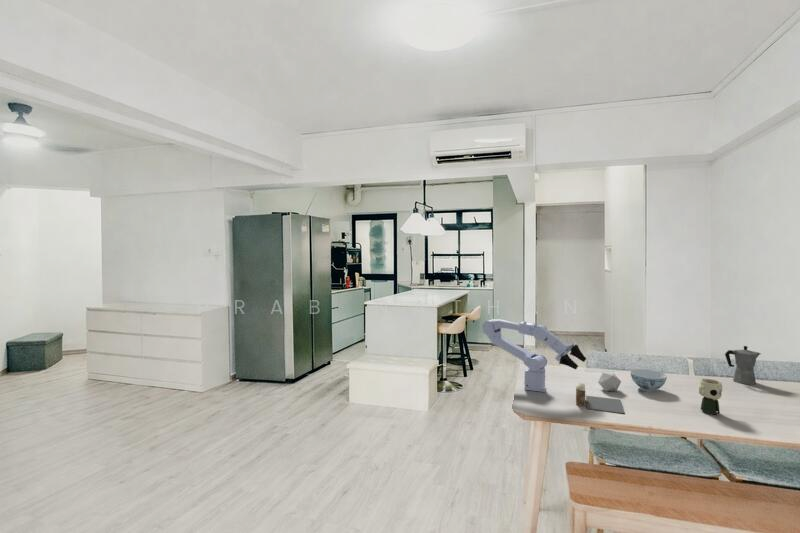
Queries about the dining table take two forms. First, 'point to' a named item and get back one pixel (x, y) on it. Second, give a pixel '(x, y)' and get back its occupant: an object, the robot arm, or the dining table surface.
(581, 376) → the dining table surface
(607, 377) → the die
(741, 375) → the coffeepot
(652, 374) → the chinaware
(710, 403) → the character mug
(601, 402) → the mat
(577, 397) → the two-tone wooden block
